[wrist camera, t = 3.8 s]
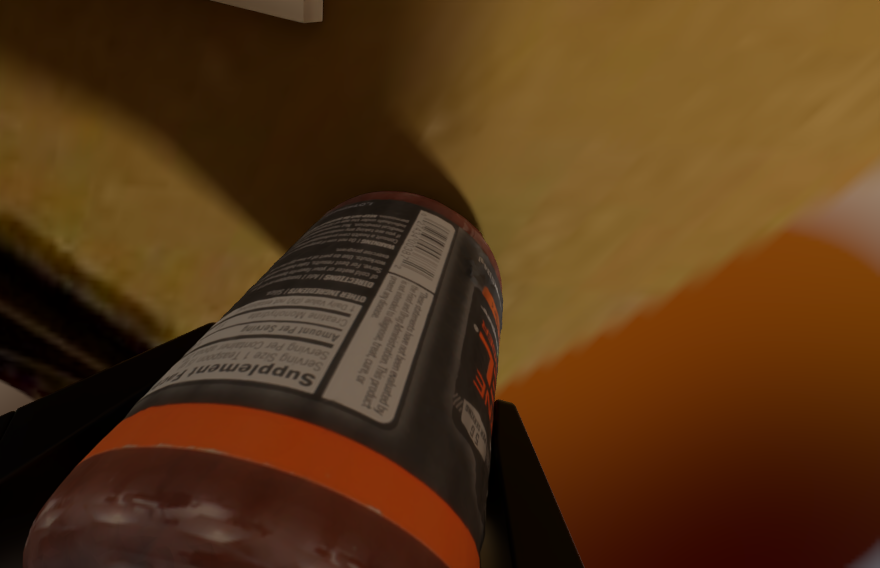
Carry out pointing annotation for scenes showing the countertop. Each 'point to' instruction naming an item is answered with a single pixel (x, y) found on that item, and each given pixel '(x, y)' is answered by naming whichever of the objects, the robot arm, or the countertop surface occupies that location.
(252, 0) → the cup bracket
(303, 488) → the supplement bottle
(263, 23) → the countertop surface
